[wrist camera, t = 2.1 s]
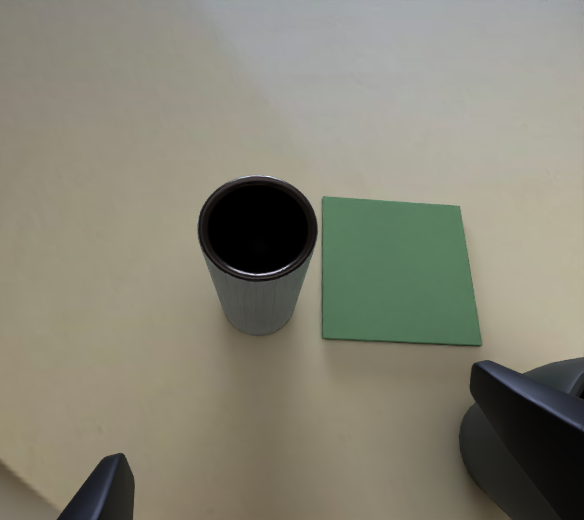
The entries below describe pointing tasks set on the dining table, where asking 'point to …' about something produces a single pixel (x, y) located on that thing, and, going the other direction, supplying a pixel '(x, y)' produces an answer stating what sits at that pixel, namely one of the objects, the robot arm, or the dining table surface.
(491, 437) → the mug
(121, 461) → the robot arm
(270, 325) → the grey tumbler
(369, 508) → the dining table surface
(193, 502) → the dining table surface
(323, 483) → the dining table surface
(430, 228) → the green mat
